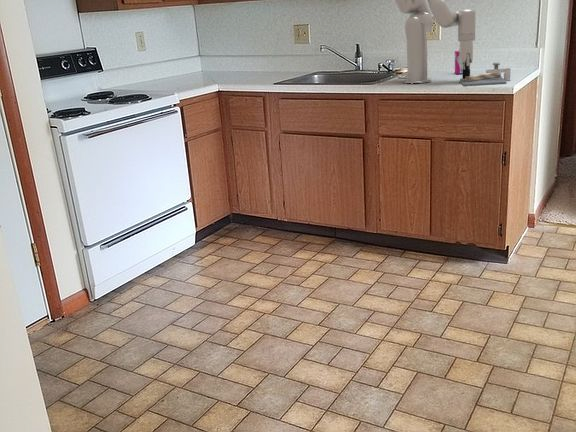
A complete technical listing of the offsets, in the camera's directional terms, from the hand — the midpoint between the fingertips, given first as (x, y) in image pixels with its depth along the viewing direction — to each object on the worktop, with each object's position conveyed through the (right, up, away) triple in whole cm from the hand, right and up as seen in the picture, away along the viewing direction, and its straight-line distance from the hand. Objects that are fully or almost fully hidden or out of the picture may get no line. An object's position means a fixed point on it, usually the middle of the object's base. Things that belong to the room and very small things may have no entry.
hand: (466, 78), depth 287 cm
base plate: (+7, -2, -3) cm, 8 cm away
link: (+8, 0, 0) cm, 8 cm away
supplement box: (+6, +9, +29) cm, 31 cm away
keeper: (+13, -2, -4) cm, 14 cm away
